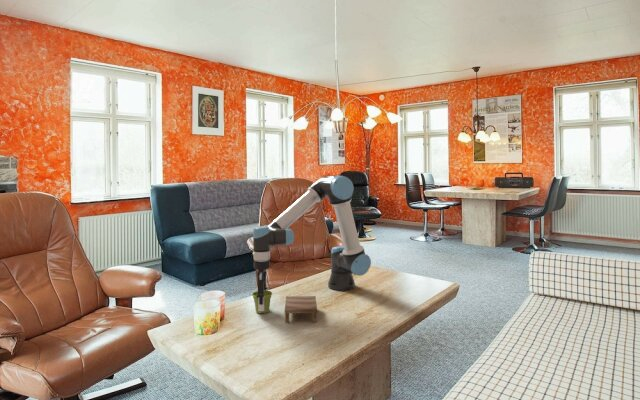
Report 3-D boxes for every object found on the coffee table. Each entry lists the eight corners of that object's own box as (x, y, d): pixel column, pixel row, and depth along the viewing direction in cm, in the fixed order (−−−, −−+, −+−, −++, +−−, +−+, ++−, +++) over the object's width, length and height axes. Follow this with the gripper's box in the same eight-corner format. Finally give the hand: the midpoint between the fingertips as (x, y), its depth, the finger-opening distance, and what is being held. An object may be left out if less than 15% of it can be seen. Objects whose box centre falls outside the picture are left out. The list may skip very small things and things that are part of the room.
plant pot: (248, 311, 187) (247, 293, 187) (263, 306, 194) (263, 289, 194) (260, 316, 181) (260, 297, 180) (276, 311, 188) (276, 293, 187)
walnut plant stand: (286, 308, 191) (286, 296, 191) (315, 308, 192) (315, 295, 191) (284, 323, 173) (284, 309, 173) (317, 322, 174) (317, 309, 174)
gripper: (256, 254, 197) (256, 299, 198) (250, 265, 175) (251, 315, 176) (271, 254, 197) (272, 299, 199) (268, 265, 175) (268, 315, 177)
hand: (262, 306), depth 188 cm, fingers closed on plant pot, 9 cm apart
